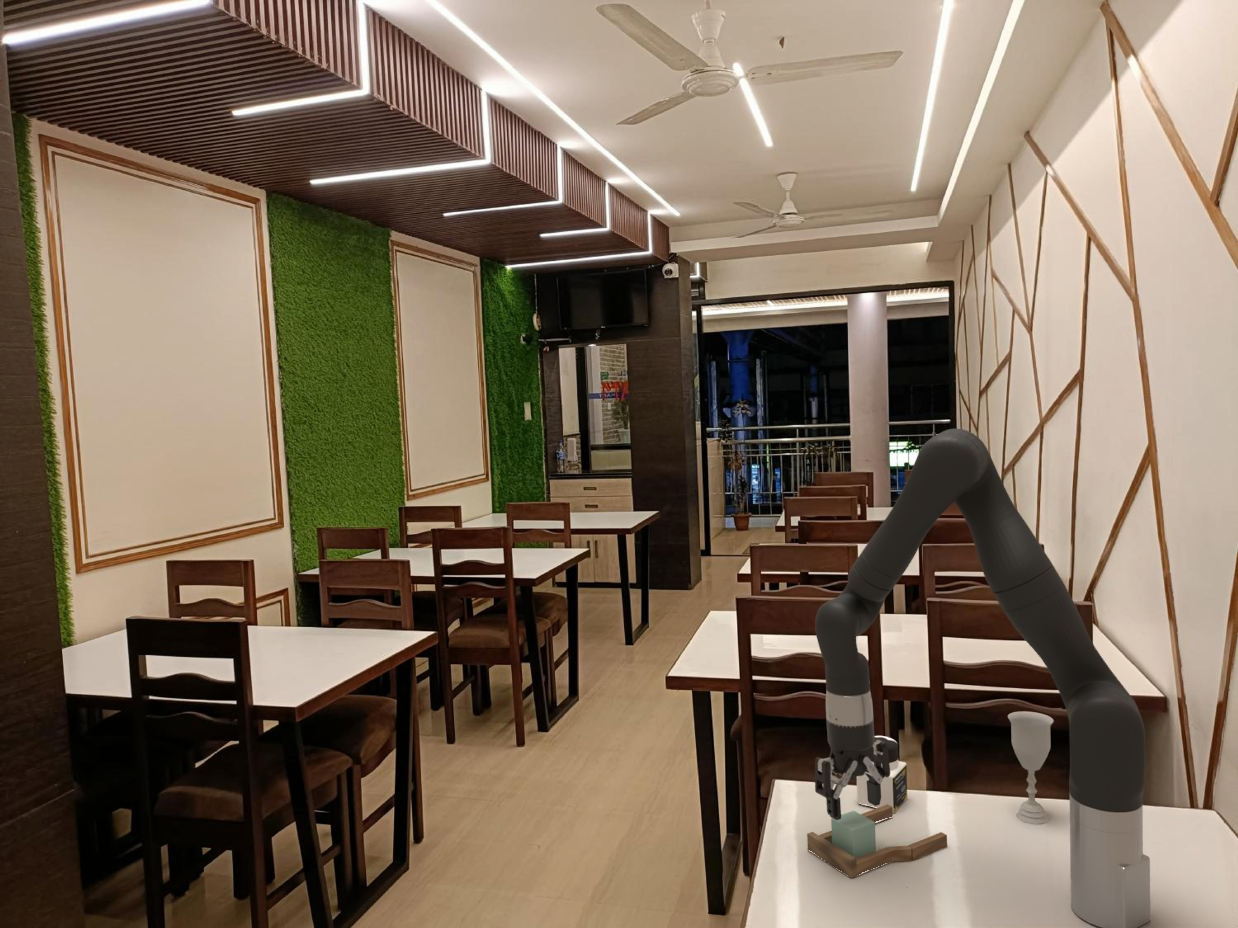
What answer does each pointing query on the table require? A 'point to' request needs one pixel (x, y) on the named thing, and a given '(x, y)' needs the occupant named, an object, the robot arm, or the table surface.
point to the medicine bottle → (887, 780)
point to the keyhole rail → (856, 866)
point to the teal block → (854, 834)
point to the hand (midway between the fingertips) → (854, 810)
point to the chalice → (1031, 756)
